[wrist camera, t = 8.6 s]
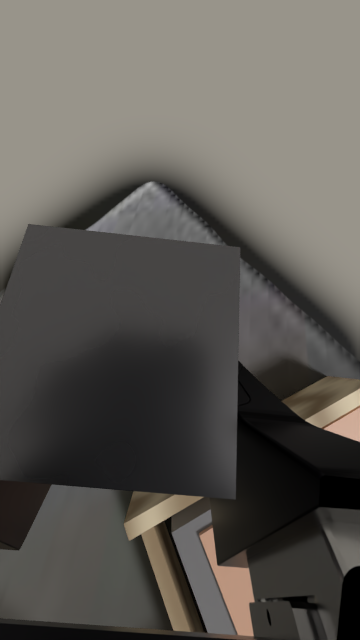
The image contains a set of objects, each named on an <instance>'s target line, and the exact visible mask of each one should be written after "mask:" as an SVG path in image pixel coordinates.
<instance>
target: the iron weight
mask: <svg viewBox="0 0 360 640" xmlns="http://www.w3.org/2000/svg"><path fill="white" fill-rule="evenodd" d="M239 288H240V247H231V246H222V245H213V244H204V243H195V242H186V241H177V240H168V239H159V238H150V237H141V236H132V235H123V234H114V233H105V232H96V231H86V230H77V229H68V228H59V227H50V226H41V225H31V224H28V227H27V230H26V233H25V236H24V239H23V241H22V244H21V247H20V250H19V253H18V256H17V259H16V262H15V264H14V267H13V270H12V273H11V276H10V279H9V282H8V285H7V288H6V290H5V293H4V296H3V299H2V302H1V305H0V480H6V481H18V482H30V483H42V484H54V485H66V486H78V487H90V488H102V489H114V490H126V491H138V492H150V493H162V494H174V495H186V496H198V497H210V498H222V499H234V500H236V456H237V400H238V344H239Z"/></svg>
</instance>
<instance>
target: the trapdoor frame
mask: <svg viewBox="0 0 360 640" xmlns="http://www.w3.org/2000/svg"><path fill="white" fill-rule="evenodd" d="M282 402H283V403H284V404H286V405H287V406H288V407H289V408H290V409H291V410H292V411H294V412H295V413H296V414H297V415H298V416H300V417H301V418H302V419H304V420H305V421H307V422H309V423H310V424H312V425H314V426H317V427H319V428H322V427H324V426H325V425H327V424H329V423H331V422H332V421H334V420H336V419H337V418H339V417H341V416H342V415H344V414H346V413H348V412H349V411H351V410H353V409H354V408H356V407H358V406H359V405H360V380H358V379H349V378H339V377H330V376H327V377H325V378H323V379H321V380H319V381H317V382H316V383H314V384H312V385H310V386H308V387H306V388H304V389H303V390H301V391H299V392H297V393H295V394H293V395H292V396H290V397H288V398H286V399H284V400H282ZM201 498H203V497H198V496H186V495H174V494H162V493H150V492H138V491H133V495H132V498H131V501H130V505H129V508H128V511H127V515H126V518H125V521H124V526H125V529H126V532H127V536H128V539H129V541H130V540H132V539H133V538H135V537H137V536H138V535H140V534H141V535H142V538H143V541H144V544H145V547H146V550H147V553H148V556H149V559H150V562H151V565H152V568H153V571H154V574H155V577H156V580H157V583H158V586H159V589H160V592H161V595H162V598H163V601H164V604H165V607H166V610H167V613H168V616H169V619H170V621H171V624H172V627H173V630H174V631H185V632H200V633H205V632H204V630H203V627H202V624H201V621H200V618H199V616H198V613H197V610H196V607H195V605H194V602H193V599H192V596H191V594H190V591H189V588H188V585H187V583H186V580H185V577H184V574H183V571H182V569H181V566H180V563H179V560H178V558H177V555H176V552H175V549H174V547H173V544H172V541H171V538H170V536H169V533H168V530H167V527H166V525H165V522H164V520H166V519H167V518H169V517H171V516H172V515H174V514H176V513H178V512H179V511H181V510H183V509H184V508H186V507H188V506H189V505H191V504H193V503H195V502H196V501H198V500H200V499H201Z"/></svg>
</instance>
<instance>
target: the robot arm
mask: <svg viewBox="0 0 360 640" xmlns="http://www.w3.org/2000/svg"><path fill="white" fill-rule="evenodd" d="M50 487H51V484H42V483H30V482H18V481H6V480H0V549H6V550H19V549H20V548H21V546H22V544H23V542H24V540H25V538H26V536H27V534H28V532H29V530H30V528H31V526H32V524H33V522H34V520H35V517H36V515H37V513H38V511H39V509H40V507H41V505H42V503H43V501H44V499H45V497H46V495H47V493H48V491H49V489H50ZM209 499H210V508H211V516H212V525H213V534H214V542H215V551H216V559H217V565H218V566H226V567H239V568H249V573H250V579H251V585H252V591H253V596H254V602H250V603H249V609H250V616H251V622H252V628H253V635H254V636H243V635H228V634H214V633H200V632H185V631H171V630H157V629H143V628H128V627H114V626H100V625H85V624H71V623H57V622H43V621H28V620H14V619H0V640H360V442H359V441H356V440H353V439H350V438H347V437H344V436H341V435H339V434H336V433H333V432H330V431H327V430H324V429H322V428H319V427H317V426H314V425H312V424H310V423H309V422H307V421H305V420H304V419H302V418H301V417H300V416H298V415H297V414H296V413H295V412H294V411H292V410H291V409H290V408H289V407H288V406H287V405H286V404H284V403H283V402H282V401H281V400H280V399H279V398H277V397H276V396H275V395H274V394H273V393H272V392H271V391H269V390H268V389H267V388H266V387H265V386H264V385H263V384H262V383H261V382H259V381H258V380H257V379H256V378H255V377H254V376H253V375H252V374H251V373H250V372H249V371H248V370H247V369H246V368H245V367H244V366H243V365H242V364H241V363H240V362H239V361H238V400H237V456H236V500H234V499H222V498H210V497H209Z"/></svg>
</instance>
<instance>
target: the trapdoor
mask: <svg viewBox="0 0 360 640" xmlns="http://www.w3.org/2000/svg"><path fill="white" fill-rule="evenodd" d="M322 429H324V430H327V431H330V432H333V433H336V434H339V435H341V436H344V437H347V438H350V439H353V440H356V441H359V442H360V405H359V406H358V407H356V408H354V409H353V410H351V411H349V412H348V413H346V414H344V415H342V416H341V417H339V418H337V419H336V420H334V421H332V422H331V423H329V424H327V425H325V426H324V427H322ZM171 533H172V536H173V538H174V541H175V544H176V546H177V549H178V552H179V555H180V557H181V560H182V563H183V566H184V568H185V571H186V574H187V577H188V579H189V582H190V585H191V588H192V590H193V593H194V596H195V599H196V601H197V604H198V607H199V610H200V612H201V615H202V618H203V621H204V623H205V626H206V629H207V631H208V633H214V634H228V635H243V636H254V635H253V628H252V622H251V616H250V609H249V603H250V602H254V596H253V591H252V585H251V579H250V573H249V568H239V567H226V566H218V565H217V559H216V551H215V542H214V534H213V525H212V516H211V508H210V499H209V497H203V498H201V499H200V500H198V501H196V502H195V503H193V504H191V505H189V506H188V507H186V508H184V509H183V510H181V511H179V512H178V513H176V514H174V515H172V531H171Z"/></svg>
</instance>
